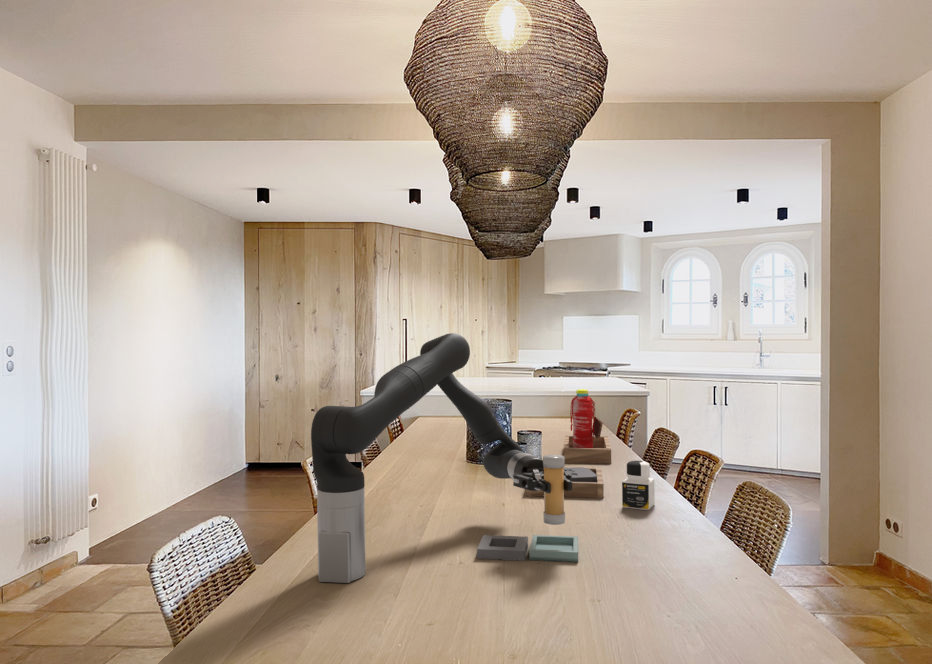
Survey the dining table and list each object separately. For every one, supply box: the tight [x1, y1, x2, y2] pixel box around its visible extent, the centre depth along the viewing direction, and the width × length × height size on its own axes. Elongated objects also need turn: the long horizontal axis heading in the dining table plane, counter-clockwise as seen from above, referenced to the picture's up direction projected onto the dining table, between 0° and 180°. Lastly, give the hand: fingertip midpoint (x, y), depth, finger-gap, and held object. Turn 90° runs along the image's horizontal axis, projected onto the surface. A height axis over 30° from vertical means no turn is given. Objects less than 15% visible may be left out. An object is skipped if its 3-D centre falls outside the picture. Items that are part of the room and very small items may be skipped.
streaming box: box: [564, 466, 597, 482], centre depth 207 cm, size 14×14×5 cm
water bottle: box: [569, 388, 604, 448], centre depth 261 cm, size 12×8×25 cm, turn 80°
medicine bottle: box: [621, 460, 656, 511], centre depth 186 cm, size 7×7×12 cm
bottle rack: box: [562, 435, 612, 464], centre depth 261 cm, size 30×17×5 cm, turn 171°
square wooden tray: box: [525, 466, 605, 499], centre depth 208 cm, size 22×22×4 cm
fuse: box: [542, 454, 566, 526], centre depth 148 cm, size 5×5×14 cm
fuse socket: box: [476, 534, 529, 561], centre depth 149 cm, size 10×10×2 cm
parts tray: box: [529, 534, 579, 563], centre depth 148 cm, size 11×10×2 cm
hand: (559, 487), depth 146 cm, fingers closed on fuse, 4 cm apart
